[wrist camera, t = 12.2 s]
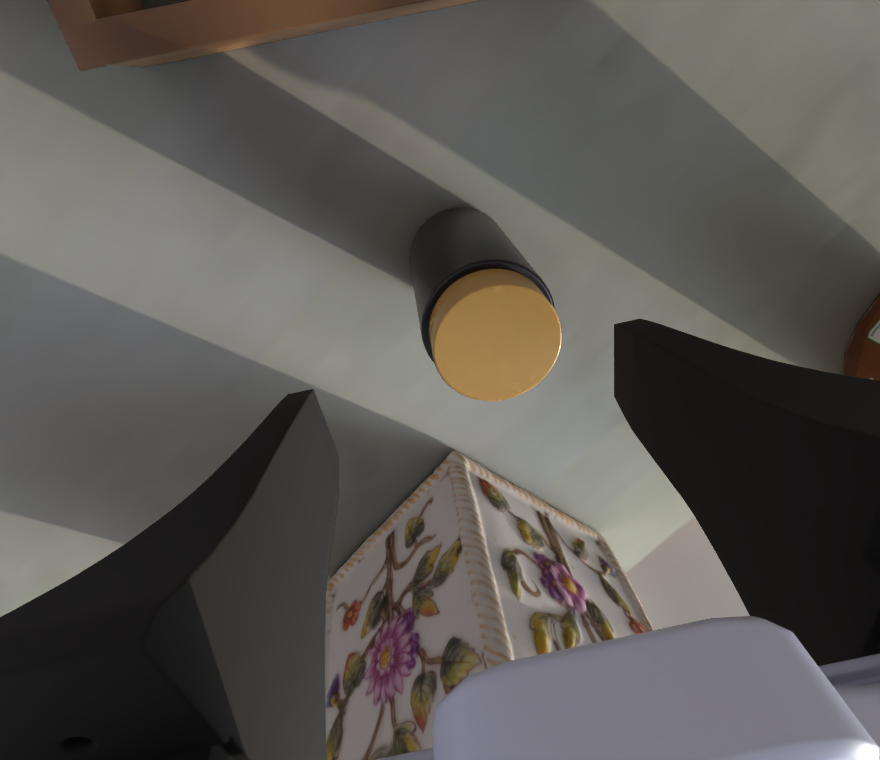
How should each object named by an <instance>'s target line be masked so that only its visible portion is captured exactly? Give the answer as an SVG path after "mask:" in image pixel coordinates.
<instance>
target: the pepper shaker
mask: <svg viewBox="0 0 880 760" xmlns="http://www.w3.org/2000/svg"><path fill="white" fill-rule="evenodd" d="M410 267H411V273H412V279H413V285H414V292H415V298H416V304H417V310H418V316H419V322H420V328H421V334H422V339H423V343H424V346H425V349H426V351H427V353H428V355H429V356H430V358H431V360H432V361H433V362H434V363H435V366H436V368H437V370H438V373H439V374H440V376H441V377H442V379H443V380H444V381H445V382H446V383H447V384H448V385H449V386H450V387H451V388H452V389H454V390H455V391H457V392H458V393H460V394H462V395H464V396H466V397H469V398H472V399H477V400H483V401H498V400H505V399H508V398H512V397H515V396H518V395H520V394H522V393H524V392H526V391H528V390H529V389H531V388H533V387H534V386H535V385H537V384H538V383H539V382H540V381H541V380H542V379H543V378H544V377H545V376H546V375H547V374H548V372H549V371H550V370H551V368H552V367H553V365H554V363H555V361H556V359H557V357H558V354H559V351H560V347H561V341H562V331H561V324H560V321H559V317H558V315H557V313H556V311H555V308H554V302H553V299H552V296H551V294H550V291H549V289H548V288H547V286H546V285H545V283H544V282H543V280H542V279H541V278H540V277H539V276H538V274H537V273H536V272H535V271H534V269H533V268H532V267H531V266H530V264H529V263H528V262H527V261H526V259H525V258H524V257H523V256H522V255H521V253H520V252H519V251H518V250H517V248H516V247H515V246H514V245H513V243H512V242H511V241H510V240H509V238H508V237H507V236H506V235H505V234H504V232H503V231H502V230H501V229H500V227H499V226H498V225H497V224H496V223H495V222H494V221H493V220H492V219H491V218H490V217H489V216H487V215H486V214H484V213H482V212H480V211H477V210H474V209H470V208H452V209H448V210H444V211H442V212H440V213H438V214H436V215H434V216H432V217H431V218H430V219H429V220H427V221H426V222H425V223H424V224H423V225H422V226H421V228H420V229H419V230H418V232H417V234H416V235H415V237H414V240H413V242H412V246H411V250H410Z"/></svg>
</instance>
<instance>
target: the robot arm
mask: <svg viewBox="0 0 880 760" xmlns="http://www.w3.org/2000/svg"><path fill="white" fill-rule="evenodd" d="M614 397H615V399H616V401H617V403H618V404H619V406H620V408H621V410H622V412H623V414H624V416H625V418H626V420H627V422H628V423H629V425H630V427H631V429H632V430H633V432H634V433H635V434H636V436H637V437H638V439H639V440H640V441H641V443H642V444H643V445H644V447H645V448H646V450H647V451H648V452H649V454H650V455H651V456H652V458H653V459H654V460H655V462H656V463H657V464H658V466H659V467H660V468H661V470H662V471H663V472H664V474H665V475H666V476H667V478H668V479H669V480H670V482H671V483H672V484H673V486H674V487H675V488H676V490H677V491H678V492H679V494H680V495H681V496H682V498H683V499H684V501H685V502H686V504H687V505H688V507H689V508H690V510H691V511H692V513H693V514H694V516H695V517H696V519H697V520H698V522H699V524H700V526H701V527H702V529H703V531H704V532H705V534H706V536H707V537H708V539H709V541H710V543H711V545H712V546H713V548H714V550H715V551H716V553H717V555H718V557H719V559H720V560H721V562H722V564H723V566H724V568H725V570H726V571H727V573H728V575H729V577H730V578H731V580H732V582H733V584H734V586H735V588H736V590H737V591H738V593H739V595H740V597H741V599H742V601H743V603H744V605H745V607H746V609H747V611H748V613H749V614H750V616H747V617H746V616H745V617H726V618H711V619H706V620H701V621H696V622H691V623H687V624H682V625H677V626H672V627H668V628H663V629H658V630H654V631H649V632H644V633H639V634H635V635H630V636H625V637H620V638H616V639H611V640H606V641H602V642H597V643H592V644H587V645H583V646H578V647H573V648H568V649H564V650H559V651H554V652H549V653H545V654H540V655H535V656H531V657H526V658H521V659H516V660H512V661H507V662H505V663H502V664H499V665H496V666H494V667H491V668H488V669H486V670H483V671H480V672H478V673H475V674H472V675H470V676H467V677H466V678H465V679H464V680H463V681H462V682H461V683H459V684H458V685H457V686H456V687H455V688H454V689H453V690H452V691H450V692H449V693H448V694H447V695H446V696H445V697H444V698H443V699H442V700H441V701H440V702H439V703H438V705H437V706H436V707H435V713H434V720H433V728H432V738H433V748H428V749H423V750H419V751H414V752H409V753H404V754H400V755H395V756H390V757H385V758H381V759H376V760H880V381H879V380H872V379H866V378H859V377H852V376H845V375H839V374H834V373H828V372H823V371H818V370H813V369H808V368H804V367H799V366H794V365H790V364H785V363H781V362H777V361H773V360H769V359H766V358H762V357H759V356H755V355H752V354H748V353H745V352H741V351H738V350H735V349H731V348H728V347H725V346H722V345H719V344H716V343H713V342H710V341H707V340H704V339H701V338H698V337H695V336H693V335H690V334H687V333H684V332H681V331H678V330H675V329H672V328H670V327H667V326H664V325H661V324H658V323H654V322H651V321H647V320H643V319H637V320H632V321H627V322H623V323H618V324H614ZM338 495H339V458H338V453H337V450H336V448H335V445H334V442H333V440H332V437H331V434H330V432H329V429H328V427H327V424H326V421H325V419H324V416H323V413H322V411H321V408H320V405H319V403H318V400H317V398H316V395H315V392H314V390H313V389H311V390H306V391H302V392H297V393H292V394H288V395H287V396H286V397H285V398H284V399H283V400H282V401H281V402H280V403H279V404H278V405H277V406H276V407H275V408H274V409H273V411H272V412H271V413H270V414H269V415H268V416H267V417H266V418H265V420H264V421H263V422H262V423H261V424H260V425H259V426H258V427H257V429H256V430H255V431H254V432H253V433H252V434H251V435H250V436H249V437H248V439H247V440H246V441H245V442H244V443H243V444H242V445H241V446H240V447H239V448H238V449H237V450H236V451H235V452H234V453H233V454H232V455H231V456H230V457H229V458H228V459H227V460H226V461H225V462H224V463H223V464H222V465H221V467H220V468H219V469H218V470H217V471H216V472H215V473H214V474H213V475H212V476H210V477H209V478H208V479H207V480H206V481H205V482H204V483H203V484H202V485H201V486H200V487H198V488H197V489H196V490H195V491H194V492H193V493H191V494H190V495H189V496H188V497H187V498H186V499H184V500H183V501H182V502H181V503H180V504H178V505H177V506H176V507H175V508H174V509H172V510H171V511H170V512H169V513H167V514H166V515H164V516H163V517H162V518H160V519H159V520H158V521H156V522H155V523H154V524H152V525H151V526H149V527H148V528H147V529H145V530H144V531H143V532H141V533H140V534H139V535H137V536H136V537H135V538H133V539H132V540H130V541H129V542H128V543H126V544H125V545H123V546H122V547H120V548H119V549H117V550H116V551H114V552H112V553H111V554H109V555H108V556H106V557H105V558H103V559H102V560H100V561H99V562H97V563H95V564H94V565H92V566H90V567H89V568H87V569H86V570H84V571H82V572H81V573H79V574H78V575H76V576H74V577H72V578H71V579H69V580H67V581H66V582H64V583H62V584H61V585H59V586H57V587H55V588H53V589H52V590H50V591H48V592H46V593H44V594H42V595H41V596H39V597H37V598H35V599H33V600H31V601H30V602H28V603H26V604H24V605H22V606H21V607H19V608H17V609H15V610H13V611H11V612H10V613H8V614H6V615H4V616H2V617H0V760H327V747H326V705H325V625H326V591H327V579H328V570H329V563H330V556H331V548H332V541H333V534H334V526H335V519H336V511H337V503H338Z"/></svg>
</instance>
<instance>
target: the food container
mask: <svg viewBox="0 0 880 760" xmlns="http://www.w3.org/2000/svg"><path fill="white" fill-rule="evenodd" d="M843 375H845V376H852V377H859V378H866V379H872V380H879V381H880V295H879V296H878V298H877V299H876V300H875V302H874V303H873V304H872V306H871V307H870V308H869V310H868V311H867V312H866V314H865V315H864V317H863V318H862V319H861V321H860V322H859V323H858V325H857V327H856V329H855V332H854V334H853V336H852V339H851V341H850V343H849V346H848V348H847V350H846V353H845V359H844V371H843Z"/></svg>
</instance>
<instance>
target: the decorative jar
mask: <svg viewBox="0 0 880 760" xmlns="http://www.w3.org/2000/svg"><path fill="white" fill-rule="evenodd" d="M649 631H654V629H653V627H652V625H651V623H650V621H649V619H648V617H647V615H646V613H645V611H644V609H643V607H642V605H641V603H640V601H639V599H638V597H637V595H636V593H635V591H634V589H633V587H632V585H631V584H630V582H629V580H628V578H627V576H626V574H625V572H624V571H623V569H622V567H621V565H620V564H619V562H618V560H617V558H616V556H615V554H614V553H613V551H612V549H611V547H610V545H609V544H608V543H607V541H606V540H605V538H604V537H603V536H602V535H600V534H599V533H598V532H596V531H594V530H592V529H590V528H589V527H587V526H585V525H583V524H581V523H580V522H578V521H576V520H574V519H572V518H570V517H569V516H567V515H565V514H564V513H562V512H560V511H558V510H556V509H554V508H552V507H551V506H549V505H548V504H546V503H545V502H543V501H541V500H540V499H538V498H537V497H535V496H533V495H532V494H530V493H528V492H526V491H525V490H523V489H521V488H519V487H517V486H516V485H514V484H512V483H510V482H509V481H507V480H505V479H503V478H501V477H500V476H498V475H496V474H494V473H492V472H491V471H489V470H488V469H486V468H484V467H483V466H481V465H480V464H478V463H477V462H475V461H473V460H471V459H469V458H467V457H466V456H465V455H463V454H462V453H460V452H457V451H452V452H451V453H450V454H449V455H448V456H447V458H446V459H445V460H444V461H443V462H442V463H441V465H440V466H439V467H438V468H436V469H435V470H434V472H433V474H432V475H430V476H429V477H428V478H427V479H426V480H425V481H424V482H423V483H422V484H421V485H420V486H419V487H418V488H417V489H416V490H415V491H414V492H413V493H412V494H411V495H410V496H409V497H408V498H407V499H406V500H405V501H404V502H403V503H402V504H401V505H400V506H399V507H398V508H397V509H396V510H395V511H394V512H393V513H392V515H391V516H390V517H389V518H388V519H387V520H386V521H385V522H384V523H383V524H382V525H381V526H380V527H379V528H378V529H377V530H376V531H375V532H374V533H373V534H372V535H371V536H369V537H368V538H367V539H366V541H365V542H364V543H363V544H362V545H361V546H360V547H359V548H358V549H357V550H356V551H355V552H354V554H353V555H352V556H351V557H350V558H349V559H348V560H347V561H346V562H345V564H344V565H343V566H342V567H341V568H340V569H339V570H338V571H337V572H336V573H335V574H334V575H333V576H332V577H331V579H330V580H329V581H328V584H327V598H326V625H325V705H326V747H327V760H376V759H381V758H385V757H390V756H395V755H400V754H404V753H409V752H414V751H419V750H423V749H428V748H433V738H432V728H433V720H434V713H435V707H436V706H437V705H438V703H439V702H440V701H441V700H442V699H443V698H444V697H445V696H446V695H447V694H448V693H449V692H450V691H452V690H453V689H454V688H455V687H456V686H457V685H458V684H459V683H461V682H462V681H463V680H464V679H465V678H466V677H467V676H470V675H472V674H475V673H478V672H480V671H483V670H486V669H488V668H491V667H494V666H496V665H499V664H502V663H505V662H507V661H512V660H516V659H521V658H526V657H531V656H535V655H540V654H545V653H549V652H554V651H559V650H564V649H568V648H573V647H578V646H583V645H587V644H592V643H597V642H602V641H606V640H611V639H616V638H620V637H625V636H630V635H635V634H639V633H644V632H649Z"/></svg>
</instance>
